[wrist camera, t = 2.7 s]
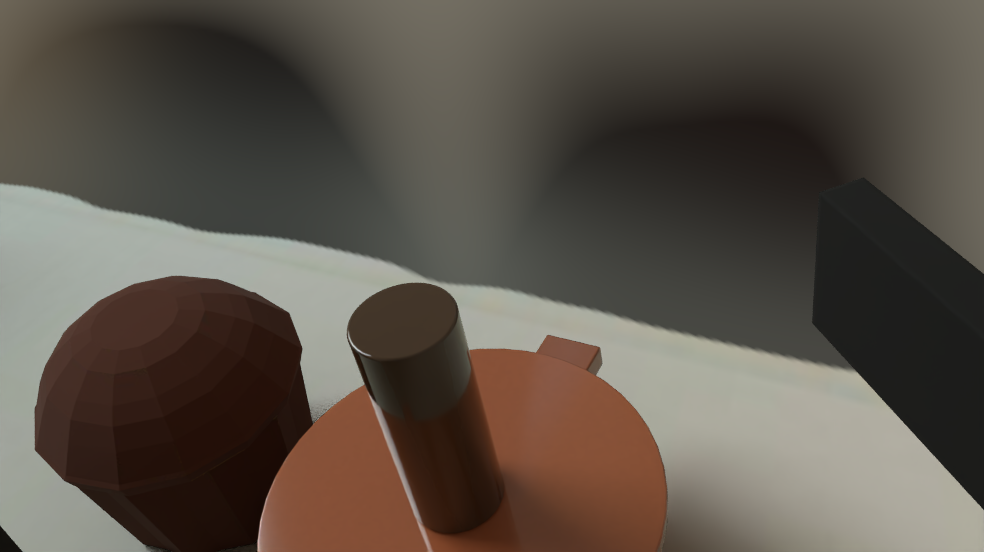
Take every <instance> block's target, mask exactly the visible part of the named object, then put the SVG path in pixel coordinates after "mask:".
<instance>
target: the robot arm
mask: <svg viewBox="0 0 984 552" xmlns="http://www.w3.org/2000/svg"><path fill="white" fill-rule="evenodd" d="M812 323H813V324H814V325H815V327H816V328H817V329H818V330H819V331H820V332H821V333H822V334H823V335H824V336H825V337H826V338H827V340H828V341H829V342H830V343H831V344H832V345H833V346H834V347H835V348H836V349H837V351H839V353H840V354H841V355H842V356H843V357H844V358H845V359H846V360H847V361H848V363H849V364H850V365H851V366H852V367H853V368H854V369H855V370H856V371H857V372H858V373H859V374H860V376H861V377H862V378H863V379H864V380H865V381H866V382H867V383H868V384H869V385H870V386H871V388H872V389H873V390H874V391H875V392H876V393H877V394H878V395H879V396H880V397H881V398H882V400H883V401H884V402H885V403H886V404H887V405H888V406H889V407H890V408H891V409H892V410H893V412H894V413H895V414H896V415H897V416H898V417H899V418H900V419H901V420H902V421H903V422H904V424H905V425H906V426H907V427H908V428H909V429H910V430H911V431H912V432H913V433H914V434H915V435H916V437H917V438H918V439H919V440H920V441H921V442H922V443H923V444H924V445H925V446H926V447H927V449H928V450H929V451H930V452H931V453H932V454H933V455H934V456H935V457H936V458H937V459H938V461H939V462H940V463H941V464H942V465H943V466H944V467H945V468H946V469H947V470H948V471H949V473H950V474H951V475H952V476H953V477H954V478H955V479H956V480H957V481H958V482H959V483H960V484H961V486H962V487H963V488H964V489H965V490H966V491H967V492H968V493H969V494H970V495H971V496H972V498H973V499H974V500H975V501H976V502H977V503H978V504H979V505H980V506H981V507H982V508H983V510H984V274H983V273H982V272H981V271H979V270H978V269H977V268H975V267H974V266H973V265H972V264H971V263H969V262H968V261H967V260H966V259H964V258H963V257H962V256H961V255H959V254H958V253H957V252H956V251H954V250H953V249H952V248H951V247H949V246H948V245H947V244H946V243H944V242H943V241H942V240H941V239H939V238H938V237H937V236H936V235H934V234H933V233H932V232H931V231H929V230H928V229H927V228H926V227H924V226H923V225H922V224H921V223H920V222H918V221H917V220H916V219H914V218H913V217H912V216H911V215H910V214H908V213H907V212H906V211H905V210H903V209H902V208H901V207H899V206H898V205H897V204H896V203H895V202H893V201H892V200H891V199H890V198H888V197H887V196H886V195H885V194H883V193H882V192H881V191H880V190H878V189H877V188H876V187H875V186H874V185H872V184H871V183H870V182H869V181H867V180H866V179H865V178H861V179H858V180H855V181H852V182H849V183H846V184H843V185H840V186H837V187H834V188H831V189H828V190H825V191H822V192H819V207H818V226H817V244H816V263H815V281H814V300H813V318H812ZM0 552H22V550H21V549H20V548H19V547H18V546H17V545H16V544H15V542H14V541H13V540H12V539H11V538H10V537H9V535H8V534H7V533H6V532H5V531H4V530H3V529H2V527H1V526H0Z"/></svg>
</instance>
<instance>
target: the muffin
mask: <svg viewBox="0 0 984 552" xmlns="http://www.w3.org/2000/svg"><path fill="white" fill-rule="evenodd" d="M301 354H302V346H301V343H300V340H299V338H298V335H297V333H296V330H295V327H294V325H293V322H292V319H291V317H290V314H289V313H288V312H287V311H285V310H283V309H282V308H280V307H278V306H277V305H275V304H273V303H272V302H270V301H268V300H267V299H265V298H263V297H262V296H260V295H258V294H257V293H254V292H250V291H248V290H245V289H243V288H240V287H238V286H235V285H233V284H230V283H227V282H224V281H221V280H218V279H208V278H198V277H187V276H170V277H165V278H160V279H155V280H151V281H146V282H141V283H136V284H133V285H131V286H128V287H126V288H124V289H122V290H120V291H118V292H116V293H114V294H112V295H110V296H108V297H106V298H104V299H102V300H100V301H98V302H97V303H96V304H95V305H94V306H92V307H91V308H90V309H89V310H88V311H87V312H86V313H84V314H83V315H82V316H81V317H80V318H79V319H77V320H76V321H75V322H74V323H73V324H72V325H71V326H69V328H68V329H67V330H66V331H65V332H64V333H63V335H62V337H61V339H60V340H59V342H58V344H57V346H56V348H55V349H54V351H53V353H52V355H51V357H50V358H49V360H48V362H47V364H46V365H45V368H44V371H43V374H42V377H41V381H40V386H39V392H38V399H37V405H36V406H35V451H36V452H37V453H38V454H39V455H40V456H41V457H42V458H43V459H44V460H45V461H46V462H47V463H48V464H49V465H50V466H51V467H52V468H53V469H54V471H55V472H56V473H57V474H58V475H59V476H60V477H61V478H62V479H63V480H64V481H66V482H68V483H70V484H72V485H74V486H76V487H78V488H79V489H80V490H81V491H82V492H83V493H85V494H86V495H87V496H88V497H89V498H90V499H92V500H93V501H94V502H95V503H96V504H97V505H99V506H100V507H101V508H102V509H103V510H104V511H106V512H107V513H108V514H109V515H110V516H111V517H113V518H114V519H115V520H116V521H117V522H118V523H119V524H121V525H122V526H123V527H124V528H125V529H126V530H128V531H129V532H130V533H131V534H132V535H133V536H135V537H136V538H137V539H138V540H139V541H140V542H142V543H143V544H146V545H150V546H154V547H159V548H163V549H167V550H170V551H172V552H217V551H220V550H223V549H228V548H233V547H238V546H243V545H248V544H253V543H254V542H255V541H256V540H257V539H258V533H259V525H260V519H261V516H262V512H263V508H264V504H265V501H266V498H267V495H268V493H269V491H270V488H271V486H272V483H273V481H274V479H275V477H276V475H277V473H278V471H279V470H280V468H281V466H282V464H283V462H284V461H285V459H286V457H287V456H288V455H289V453H290V452H291V451H292V449H293V448H294V446H295V445H296V444H297V442H298V441H299V440H300V438H301V437H302V436H303V435H304V434H305V433H306V432H307V431H308V430H309V428H310V427H311V426H312V425H313V422H312V418H311V413H310V408H309V404H308V399H307V394H306V389H305V385H304V380H303V375H302V371H301V366H300V361H301Z"/></svg>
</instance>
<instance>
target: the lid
mask: <svg viewBox="0 0 984 552" xmlns="http://www.w3.org/2000/svg"><path fill="white" fill-rule="evenodd" d="M347 339H348V342H349V345H350V347H351V350H352V353H353V355H354V358H355V360H356V363H357V366H358V368H359V371H360V374H361V376H362V379H363V382H364V385H363V386H361V387H360V388H358V389H356V390H355V391H353V392H351V393H350V394H349V395H347V396H346V397H345V398H343V399H342V400H341V401H339V402H338V403H337V404H335V405H334V406H333V407H331V408H330V409H329V410H328V411H327V412H326V413H325V414H324V415H323V416H321V417H320V418H319V419H318V420H317V421H316V422H315V423H314V424H313V425H312V426H311V427H310V428H309V430H308V431H307V432H306V433H305V434H304V435H303V436H302V437H301V438H300V440H299V441H298V442H297V444H296V445H295V446H294V448H293V449H292V451H291V452H290V453H289V455H288V456H287V457H286V459H285V461H284V462H283V464H282V466H281V468H280V470H279V471H278V473H277V475H276V477H275V479H274V481H273V483H272V486H271V488H270V491H269V493H268V495H267V498H266V501H265V504H264V508H263V512H262V516H261V519H260V525H259V533H258V542H257V552H661V551H662V548H663V544H664V539H665V533H666V528H667V522H668V491H667V483H666V476H665V469H664V465H663V462H662V458H661V455H660V452H659V449H658V446H657V444H656V442H655V440H654V438H653V436H652V434H651V432H650V430H649V427H648V426H647V424H646V423H645V422H644V420H643V419H642V417H641V416H640V415H639V413H638V412H637V410H636V409H635V408H634V407H633V406H632V405H631V404H630V403H629V402H628V401H627V400H626V399H625V398H624V396H623V395H622V394H621V393H619V392H618V391H617V390H616V389H614V388H613V387H612V386H610V385H609V384H608V383H607V382H605V381H604V380H602V379H601V378H599V377H597V376H596V375H594V374H592V373H591V372H589V371H587V370H585V369H583V368H581V367H579V366H576V365H574V364H572V363H569V362H567V361H564V360H561V359H558V358H554V357H551V356H548V355H544V354H539V353H534V352H529V351H522V350H511V349H475V350H469V348H468V344H467V340H466V336H465V332H464V329H463V325H462V321H461V317H460V314H459V310H458V306H457V303H456V301H455V300H454V298H453V297H452V296H451V295H450V294H449V293H448V292H447V291H445V290H444V289H442V288H440V287H438V286H435V285H432V284H426V283H406V284H400V285H396V286H392V287H389V288H387V289H384V290H382V291H380V292H378V293H376V294H374V295H372V296H371V297H369V298H368V299H367V300H365V301H364V302H363V303H362V304H361V305H360V306H359V307H358V308H357V309H356V310H355V312H354V313H353V314H352V316H351V318H350V320H349V323H348V327H347Z"/></svg>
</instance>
